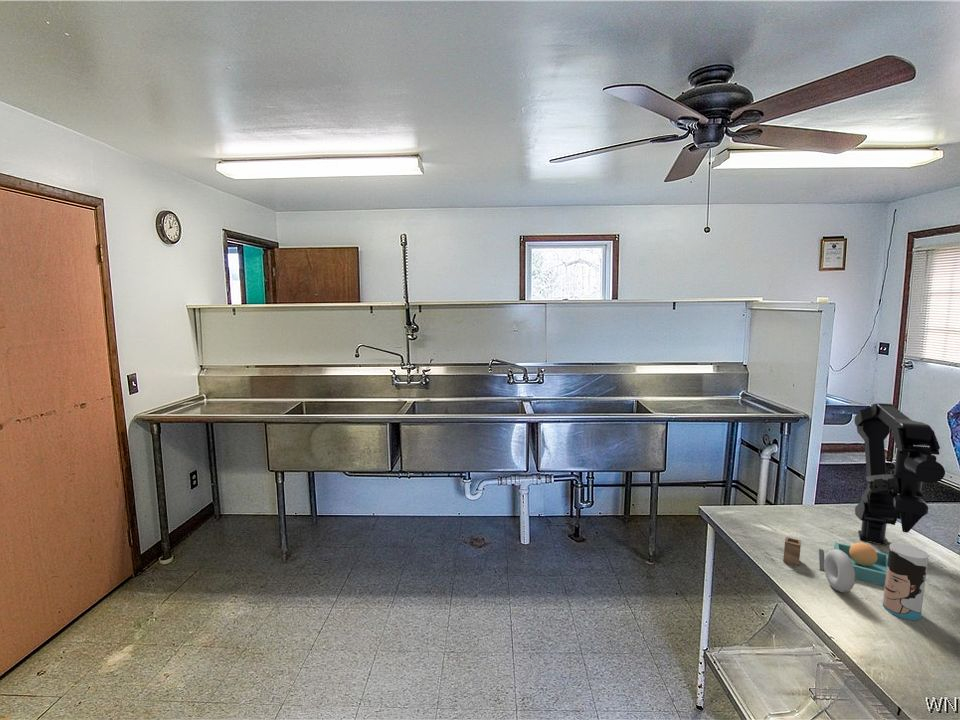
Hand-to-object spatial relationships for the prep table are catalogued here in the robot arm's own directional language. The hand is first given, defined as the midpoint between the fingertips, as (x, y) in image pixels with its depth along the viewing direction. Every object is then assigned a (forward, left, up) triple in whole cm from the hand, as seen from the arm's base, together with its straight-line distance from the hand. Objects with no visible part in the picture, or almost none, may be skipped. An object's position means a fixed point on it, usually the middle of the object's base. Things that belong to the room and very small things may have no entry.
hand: (902, 525), depth 129 cm
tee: (+13, -24, -12) cm, 30 cm away
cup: (+24, -2, -12) cm, 27 cm away
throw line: (+7, -17, -12) cm, 22 cm away
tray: (+7, -8, -12) cm, 16 cm away
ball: (+5, -8, -8) cm, 13 cm away
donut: (+22, -14, -12) cm, 29 cm away
